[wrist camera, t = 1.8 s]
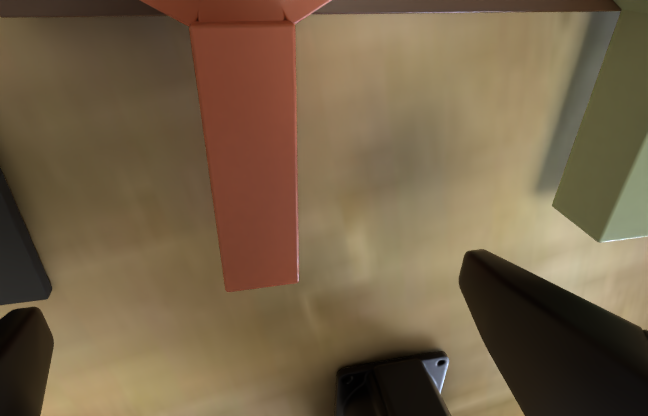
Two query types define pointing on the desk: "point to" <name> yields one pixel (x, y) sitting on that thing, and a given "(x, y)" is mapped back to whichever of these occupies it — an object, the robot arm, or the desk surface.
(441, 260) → the desk surface
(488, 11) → the rack
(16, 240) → the mat
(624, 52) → the sage loop
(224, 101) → the rust loop
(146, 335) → the desk surface
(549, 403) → the robot arm
